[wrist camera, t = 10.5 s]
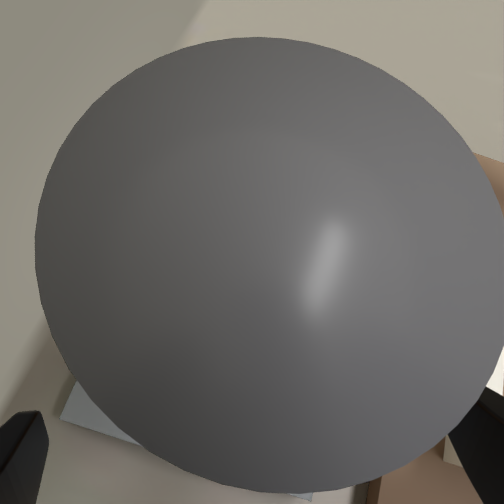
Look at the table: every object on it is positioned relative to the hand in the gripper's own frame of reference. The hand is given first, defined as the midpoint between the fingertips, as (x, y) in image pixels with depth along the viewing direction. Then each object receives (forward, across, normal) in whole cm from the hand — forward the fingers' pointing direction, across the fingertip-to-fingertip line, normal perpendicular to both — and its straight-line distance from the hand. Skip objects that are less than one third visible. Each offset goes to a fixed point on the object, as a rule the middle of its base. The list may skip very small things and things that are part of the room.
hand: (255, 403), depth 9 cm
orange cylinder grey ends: (+7, 0, +3) cm, 8 cm away
